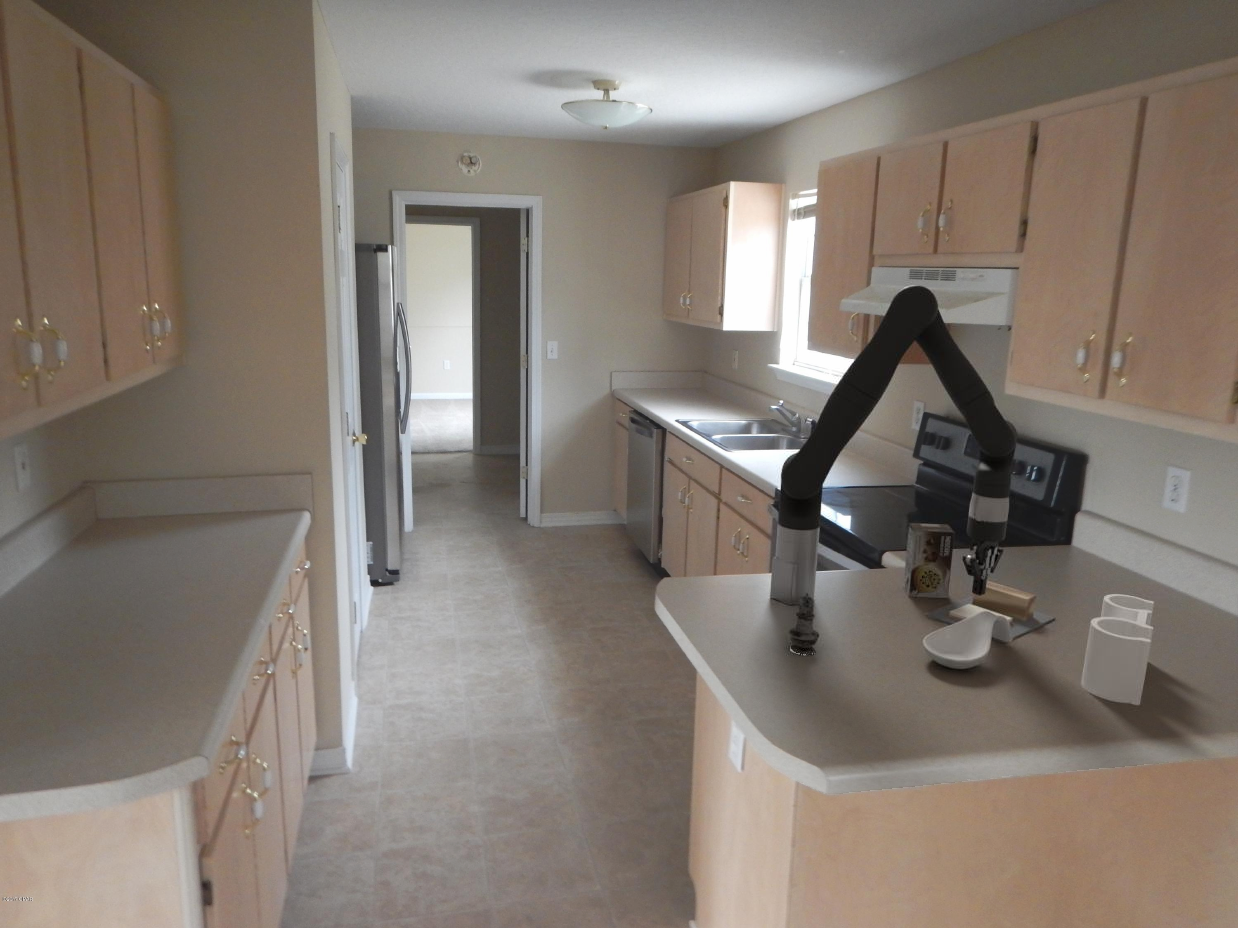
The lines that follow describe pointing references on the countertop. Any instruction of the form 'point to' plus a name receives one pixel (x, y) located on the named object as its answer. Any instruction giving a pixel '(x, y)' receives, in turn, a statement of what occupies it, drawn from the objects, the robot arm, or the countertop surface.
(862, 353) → the robot arm
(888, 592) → the countertop surface
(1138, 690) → the bracket
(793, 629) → the chess piece
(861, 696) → the countertop surface
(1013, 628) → the mat
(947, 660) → the spoon rest
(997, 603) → the block
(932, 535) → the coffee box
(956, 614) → the tile
